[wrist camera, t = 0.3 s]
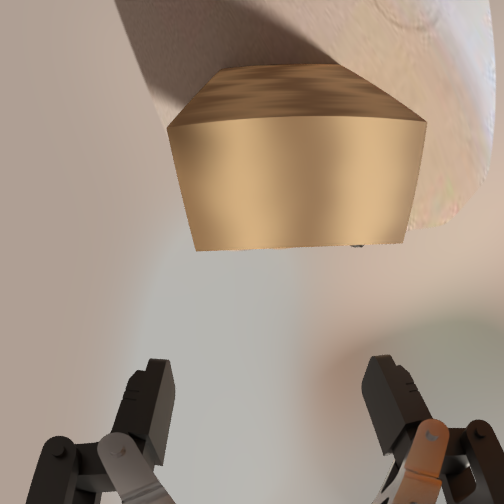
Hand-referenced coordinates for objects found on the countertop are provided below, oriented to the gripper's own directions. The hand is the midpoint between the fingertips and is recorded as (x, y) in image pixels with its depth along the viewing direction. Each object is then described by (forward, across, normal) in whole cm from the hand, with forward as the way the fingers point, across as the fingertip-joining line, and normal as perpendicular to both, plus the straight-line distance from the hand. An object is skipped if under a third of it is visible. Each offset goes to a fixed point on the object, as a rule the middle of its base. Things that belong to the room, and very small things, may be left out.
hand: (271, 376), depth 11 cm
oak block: (+27, -3, -12) cm, 30 cm away
